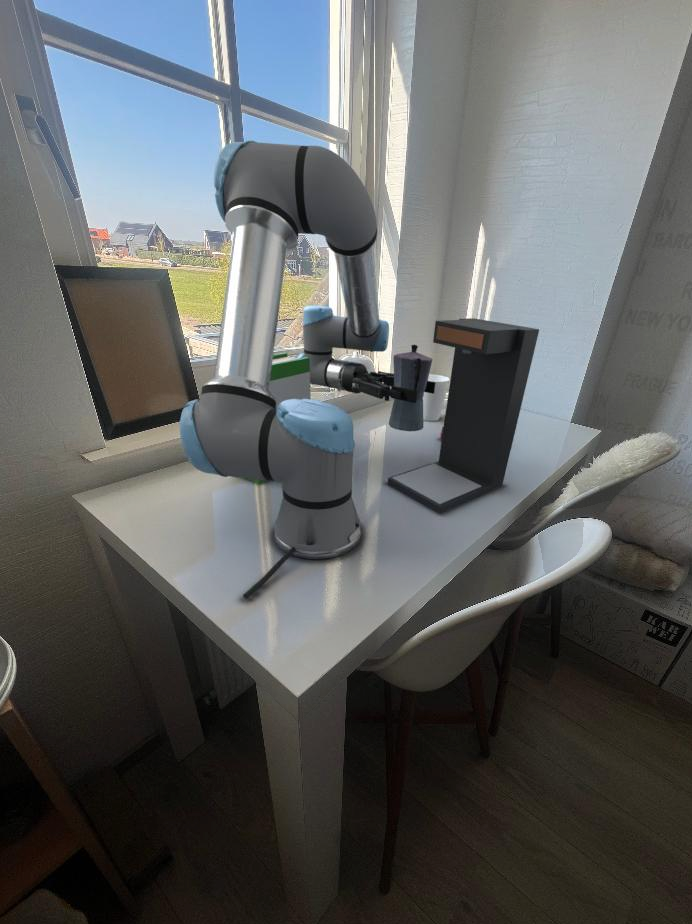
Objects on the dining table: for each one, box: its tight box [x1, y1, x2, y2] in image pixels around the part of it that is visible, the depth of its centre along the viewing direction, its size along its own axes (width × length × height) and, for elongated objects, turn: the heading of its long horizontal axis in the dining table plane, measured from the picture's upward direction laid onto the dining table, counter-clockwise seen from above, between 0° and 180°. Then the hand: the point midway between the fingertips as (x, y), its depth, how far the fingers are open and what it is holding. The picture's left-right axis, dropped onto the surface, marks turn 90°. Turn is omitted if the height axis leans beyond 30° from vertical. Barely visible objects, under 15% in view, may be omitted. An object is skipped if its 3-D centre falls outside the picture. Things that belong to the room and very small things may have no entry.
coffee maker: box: [387, 317, 540, 514], centre depth 88 cm, size 22×16×34 cm
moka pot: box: [388, 344, 433, 432], centre depth 103 cm, size 10×15×20 cm, turn 10°
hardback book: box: [245, 352, 311, 484], centre depth 93 cm, size 18×7×24 cm, turn 148°
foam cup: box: [422, 373, 450, 422], centre depth 135 cm, size 10×9×13 cm
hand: (425, 392), depth 101 cm, fingers closed on moka pot, 10 cm apart
